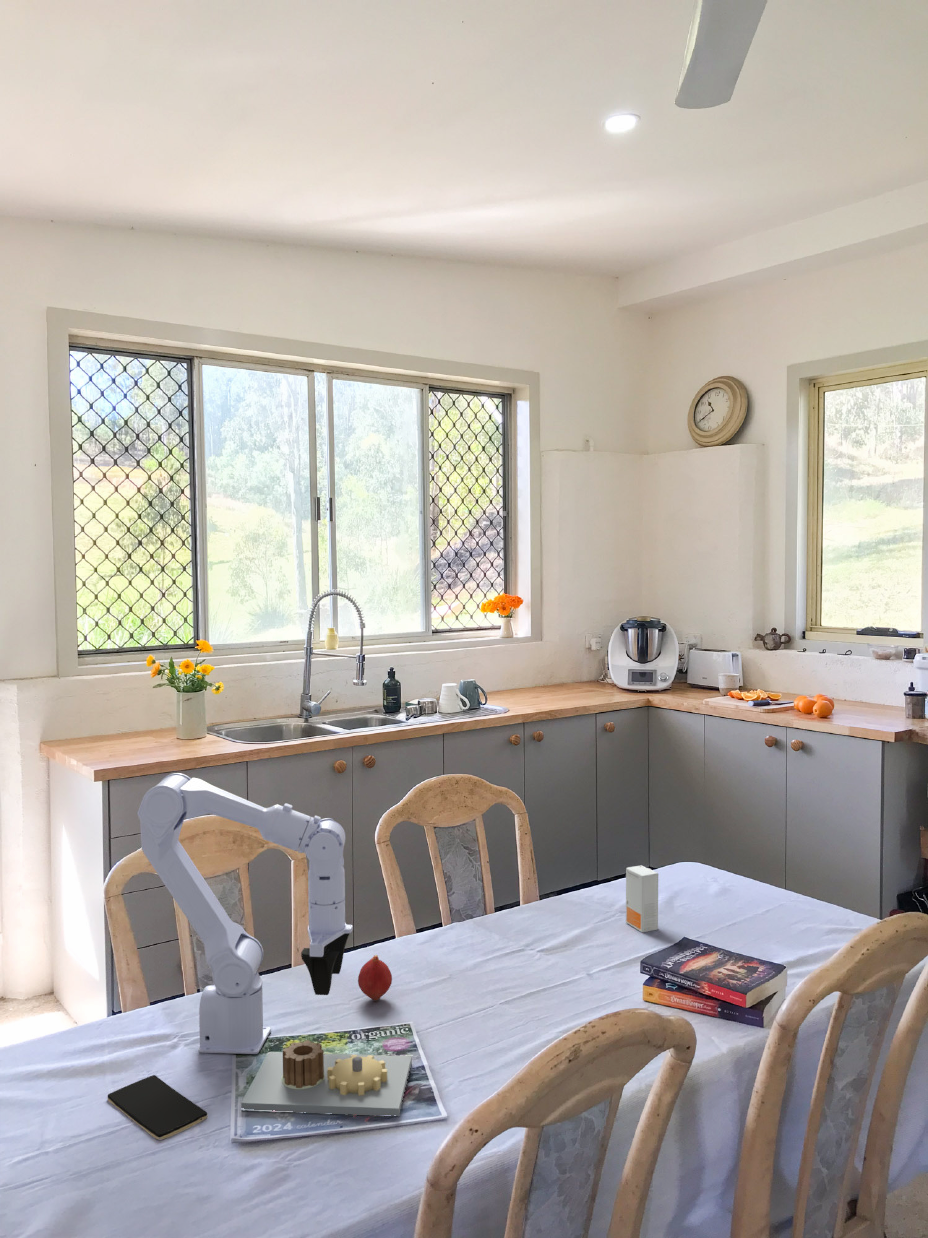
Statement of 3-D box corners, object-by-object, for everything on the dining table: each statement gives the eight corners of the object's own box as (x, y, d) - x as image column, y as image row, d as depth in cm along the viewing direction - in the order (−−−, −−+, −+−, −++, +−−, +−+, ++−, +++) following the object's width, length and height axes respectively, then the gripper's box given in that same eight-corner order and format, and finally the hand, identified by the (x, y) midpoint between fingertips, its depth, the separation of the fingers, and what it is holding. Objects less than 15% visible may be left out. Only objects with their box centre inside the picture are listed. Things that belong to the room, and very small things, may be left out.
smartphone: (153, 1073, 142) (209, 1113, 132) (154, 1081, 142) (209, 1121, 132) (105, 1094, 137) (159, 1136, 126) (106, 1102, 137) (159, 1145, 126)
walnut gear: (278, 1087, 137) (278, 1060, 137) (288, 1066, 143) (288, 1040, 143) (318, 1089, 137) (318, 1061, 136) (327, 1067, 142) (327, 1041, 142)
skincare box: (624, 923, 202) (625, 867, 202) (641, 920, 204) (642, 864, 204) (641, 933, 197) (642, 876, 196) (659, 930, 199) (659, 873, 198)
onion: (351, 1003, 166) (351, 958, 166) (370, 990, 171) (369, 946, 171) (380, 1010, 163) (379, 964, 163) (398, 997, 168) (397, 952, 168)
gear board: (241, 1111, 133) (240, 1082, 133) (268, 1059, 147) (268, 1032, 147) (398, 1117, 132) (398, 1087, 132) (411, 1064, 146) (411, 1037, 146)
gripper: (341, 916, 144) (342, 1005, 145) (360, 884, 159) (361, 965, 159) (295, 915, 145) (296, 1003, 146) (318, 883, 159) (319, 963, 160)
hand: (327, 983), depth 153 cm, fingers open, 7 cm apart
